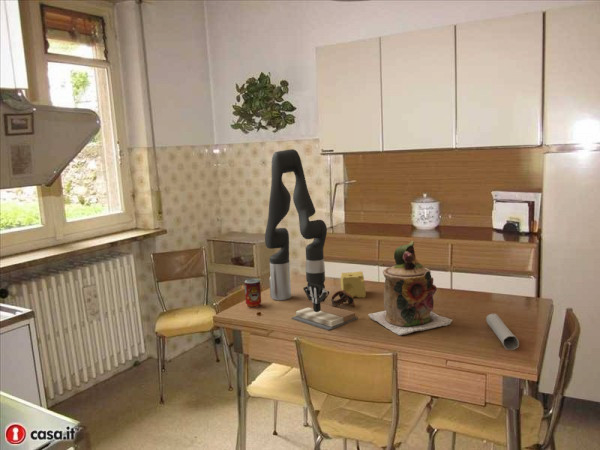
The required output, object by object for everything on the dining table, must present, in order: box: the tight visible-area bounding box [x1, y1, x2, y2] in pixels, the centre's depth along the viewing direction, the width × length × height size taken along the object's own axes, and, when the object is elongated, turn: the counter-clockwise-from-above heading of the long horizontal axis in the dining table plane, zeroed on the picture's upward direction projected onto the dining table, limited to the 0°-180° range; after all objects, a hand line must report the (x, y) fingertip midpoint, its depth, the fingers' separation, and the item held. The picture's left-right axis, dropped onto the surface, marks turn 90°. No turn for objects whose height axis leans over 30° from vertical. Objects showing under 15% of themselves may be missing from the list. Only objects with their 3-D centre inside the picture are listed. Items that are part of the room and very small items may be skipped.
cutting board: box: [291, 302, 358, 332], centre depth 205 cm, size 21×17×3 cm
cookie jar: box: [368, 240, 453, 336], centre depth 195 cm, size 25×25×32 cm
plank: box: [295, 307, 343, 327], centre depth 203 cm, size 20×7×2 cm, turn 44°
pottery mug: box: [330, 289, 356, 308], centre depth 220 cm, size 12×10×8 cm
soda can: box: [244, 277, 262, 309], centre depth 226 cm, size 7×7×12 cm
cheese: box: [340, 271, 366, 299], centre depth 235 cm, size 10×11×10 cm
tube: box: [486, 313, 520, 351], centre depth 179 cm, size 5×5×25 cm
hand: (317, 311), depth 202 cm, fingers closed
